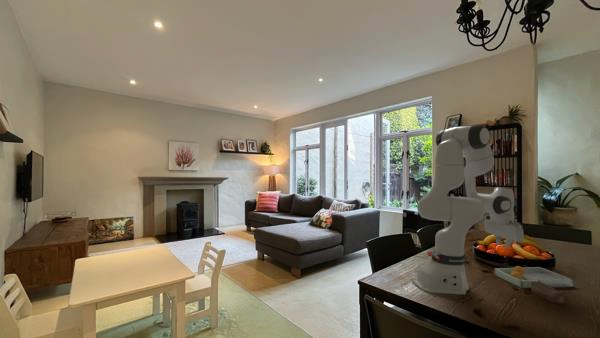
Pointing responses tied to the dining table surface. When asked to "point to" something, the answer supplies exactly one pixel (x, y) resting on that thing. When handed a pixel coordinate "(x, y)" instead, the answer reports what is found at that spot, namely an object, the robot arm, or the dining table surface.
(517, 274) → the ball
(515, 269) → the ball
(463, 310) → the dining table surface
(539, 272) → the grey metal shallow bin
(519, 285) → the tray
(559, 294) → the taupe rectangular slab
